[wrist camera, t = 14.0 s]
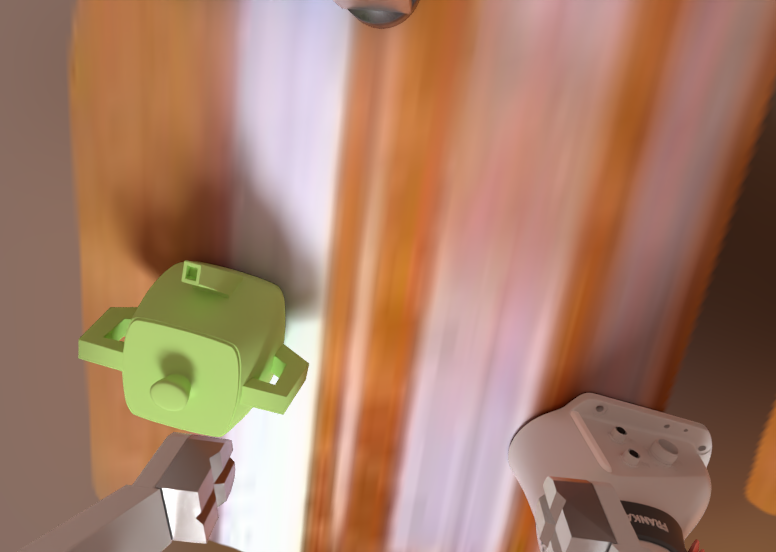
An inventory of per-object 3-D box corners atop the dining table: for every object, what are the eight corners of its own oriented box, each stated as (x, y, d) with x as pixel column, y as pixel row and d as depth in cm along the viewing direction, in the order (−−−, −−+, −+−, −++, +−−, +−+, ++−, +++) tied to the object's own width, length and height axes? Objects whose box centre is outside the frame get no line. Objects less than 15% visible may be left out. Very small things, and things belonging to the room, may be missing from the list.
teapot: (146, 195, 41) (35, 241, 30) (342, 253, 42) (311, 320, 31) (140, 344, 49) (51, 427, 37) (306, 390, 50) (270, 486, 38)
